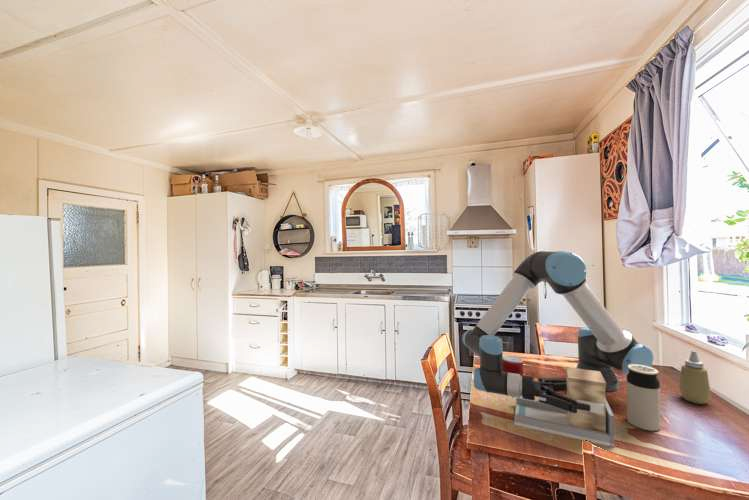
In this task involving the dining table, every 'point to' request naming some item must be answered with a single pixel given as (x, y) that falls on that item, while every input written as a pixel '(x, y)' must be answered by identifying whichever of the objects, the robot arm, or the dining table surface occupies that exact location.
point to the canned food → (512, 364)
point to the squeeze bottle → (694, 381)
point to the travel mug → (643, 397)
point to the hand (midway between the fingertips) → (599, 399)
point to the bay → (560, 421)
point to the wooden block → (586, 397)
